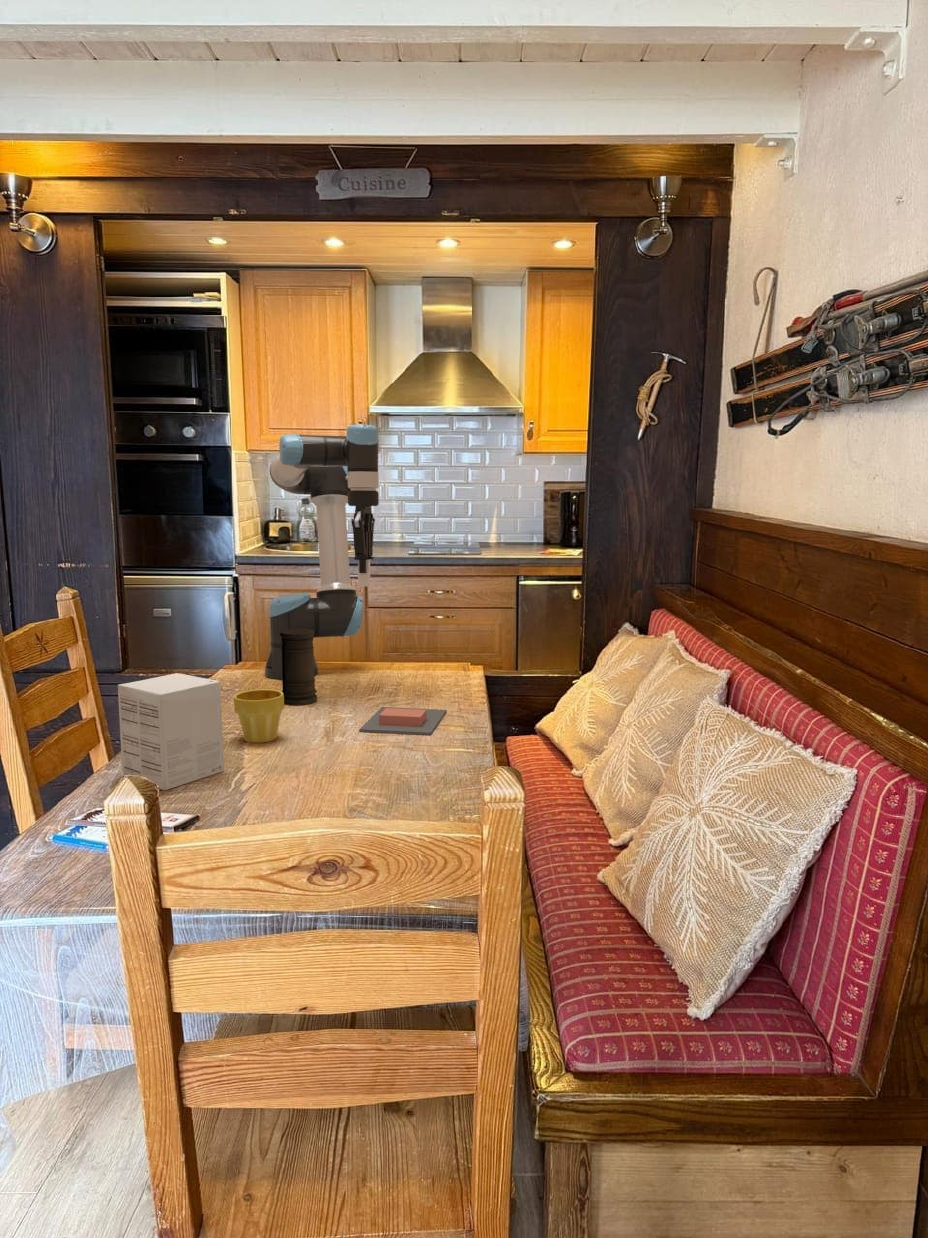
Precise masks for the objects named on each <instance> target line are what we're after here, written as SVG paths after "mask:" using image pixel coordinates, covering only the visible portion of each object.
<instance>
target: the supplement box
mask: <svg viewBox="0 0 928 1238" xmlns="http://www.w3.org/2000/svg"><path fill="white" fill-rule="evenodd" d="M221 687H222V686H221V681H218V680H215V679H210V678H203V677H200V676H194V675H189V674H185V673H184V674H183V673H177V672H175V673H171V674H167V675H162V676H156V677H151V678H147V679H142V680H141V679H140V680H136V681H131V682H126V683H120V684H117V694H118V696H117V698H118V714H119V715H118V716H119V734H120V735H119V736H120V738H119V739H120V752H121V773H122V774H121V775H122V777H123V776H124V775H129V774H130V775H139V776H143V777H146V778H148V779H149V780H151V781H153V782H155V783H157V785H158V786H159V788H158V789H159V790H162V791H167V790H170V789H174V788H176V787H179V786H183V785H186V784H189V783H193V782H195V781H198V780H201V779H204V778H207V777H211V776H213V775H216V774H220V773H223V772H225V762H224V760H225V759H224V739H223V736H224V735H223V717H222V713H223V712H222V690H221Z"/></svg>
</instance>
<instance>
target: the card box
mask: <svg viewBox="0 0 928 1238" xmlns="http://www.w3.org/2000/svg"><path fill="white" fill-rule="evenodd" d="M396 708H397V707H393V708H386V709H385V710H384V711H383V712H382V713H381V714H380V715H379V725H395V726H416V727H421V725H422V724H423V723H424V722H425V720H426V710H418V709H419V708H416V709H396Z"/></svg>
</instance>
